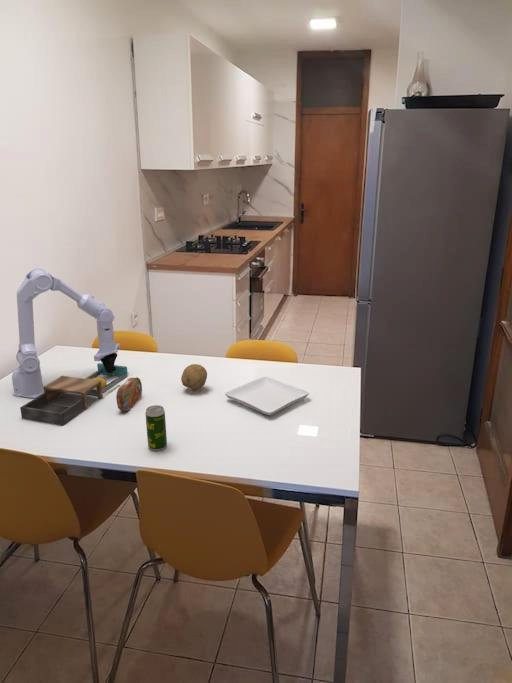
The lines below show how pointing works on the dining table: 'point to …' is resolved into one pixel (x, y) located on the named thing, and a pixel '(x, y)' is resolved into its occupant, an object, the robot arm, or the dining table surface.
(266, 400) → the salad plate
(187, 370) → the brown potato
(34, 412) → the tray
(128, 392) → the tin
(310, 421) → the dining table surface
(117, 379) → the drawer
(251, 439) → the dining table surface
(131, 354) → the dining table surface
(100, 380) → the bread roll
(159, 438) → the beer can
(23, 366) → the robot arm
